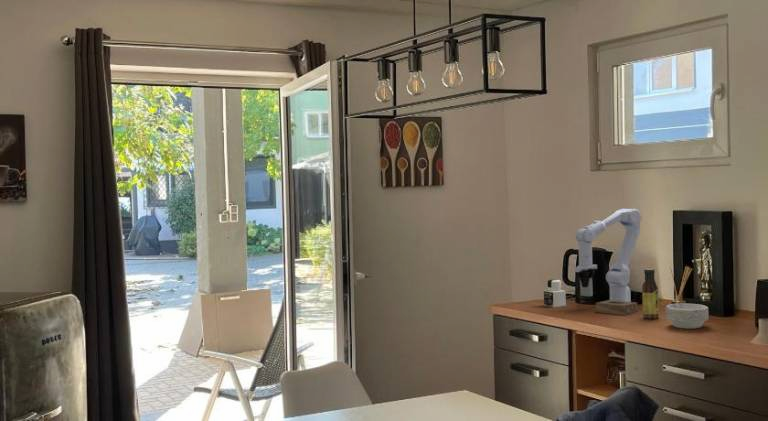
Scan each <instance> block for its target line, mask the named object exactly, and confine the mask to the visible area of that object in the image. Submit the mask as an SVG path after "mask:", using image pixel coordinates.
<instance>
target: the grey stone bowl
mask: <svg viewBox="0 0 768 421" xmlns="http://www.w3.org/2000/svg"><path fill="white" fill-rule="evenodd" d="M665 312H666V313H665V314H666V317H665V318H666V320H668V321H670V322H671V324H672V326H674V327H675V328H678V329H683V328H684V330H691V329H692V330H693V329H695V330H696V329H700V328H702V327H703V325H704V323H705V322H706V321H708V320H709V307H708V306H706V305H703V304H699V303H697V304H696V303H671V304H667V305H666V306H665Z"/></svg>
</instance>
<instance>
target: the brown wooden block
mask: <svg viewBox="0 0 768 421" xmlns="http://www.w3.org/2000/svg"><path fill="white" fill-rule="evenodd" d="M595 313H602V314H611V315H619V316H620V315H621V316H627V315H631V314H634V313H638V302H635V301H634V302H632V301H631V302H625V301H614V300H610V299H608V300H607V299H606V300H604V301H599V302H595Z"/></svg>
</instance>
